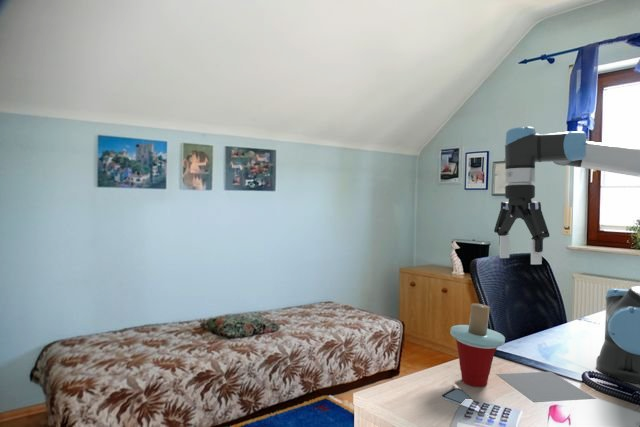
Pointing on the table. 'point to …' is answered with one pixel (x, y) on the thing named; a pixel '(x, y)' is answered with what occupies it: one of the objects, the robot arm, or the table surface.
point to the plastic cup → (475, 363)
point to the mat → (544, 386)
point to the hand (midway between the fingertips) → (519, 261)
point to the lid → (478, 329)
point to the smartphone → (455, 396)
